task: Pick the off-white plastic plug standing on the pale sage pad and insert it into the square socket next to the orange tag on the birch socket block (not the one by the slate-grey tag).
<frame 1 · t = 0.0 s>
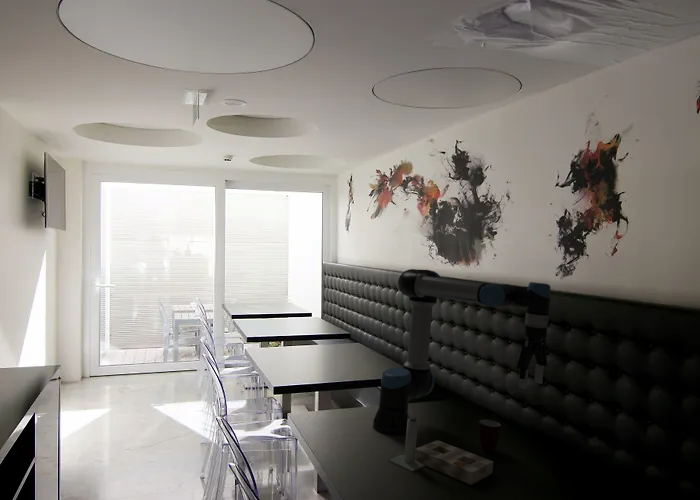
hand: (530, 385, 178), 28 cm above the table, fingers open, 13 cm apart
socket block: (452, 466, 170), on the table
mug: (487, 451, 187), on the table
pad: (408, 462, 170), on the table
plug: (409, 461, 170), resting on pad
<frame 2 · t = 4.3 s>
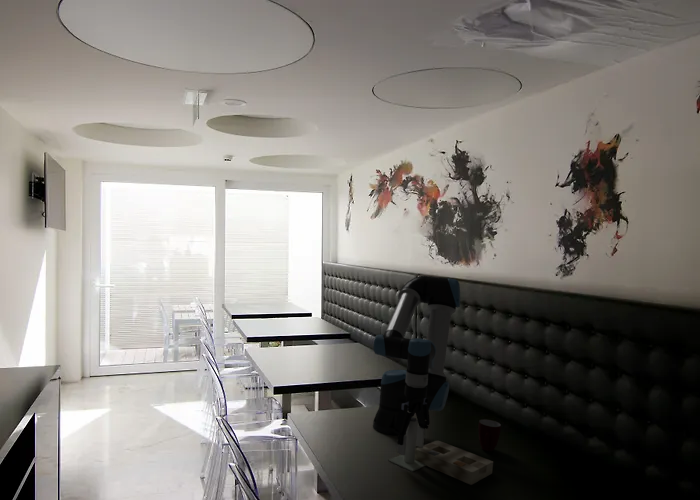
hand: (410, 450, 170), 4 cm above the table, fingers open, 10 cm apart
nothing on the table moved.
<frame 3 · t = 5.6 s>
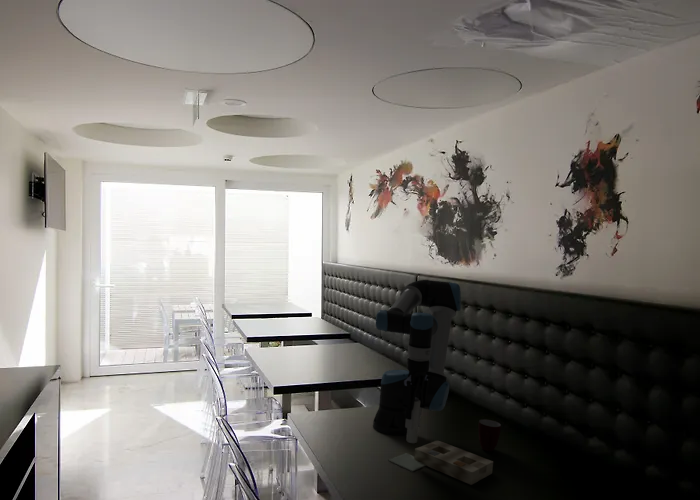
hand: (412, 426, 170), 12 cm above the table, fingers closed on plug, 3 cm apart
plug: (411, 440, 170), point 7 cm above the table, touching gripper
everything else where it was.
when the fingers open (6 cm above the table, at t = 9.8 s): plug stays where it is, resting in socket block.
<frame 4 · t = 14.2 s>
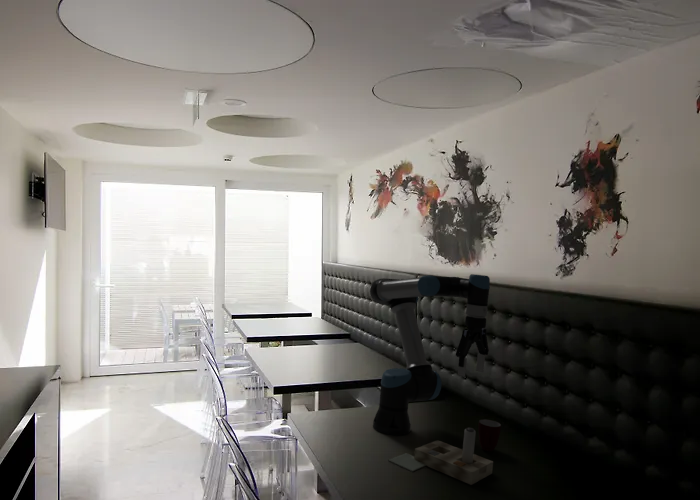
hand: (470, 373, 185), 29 cm above the table, fingers open, 13 cm apart
plug: (466, 472, 166), resting in socket block
everything else where it was.
at the end: plug 0.3 cm from the target spot on the socket block, point 0.0 cm above the socket block's base; plug tilted 0°; the gripper is holding nothing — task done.
